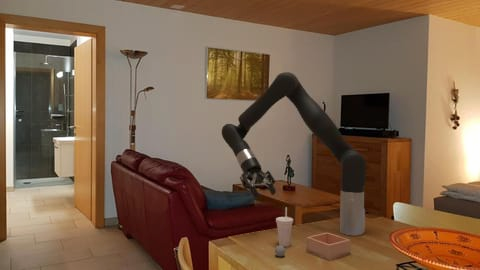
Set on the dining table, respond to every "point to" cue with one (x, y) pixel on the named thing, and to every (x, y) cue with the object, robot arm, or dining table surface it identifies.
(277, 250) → the ball
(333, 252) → the pink square tray
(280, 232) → the smoothie
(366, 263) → the dining table surface
